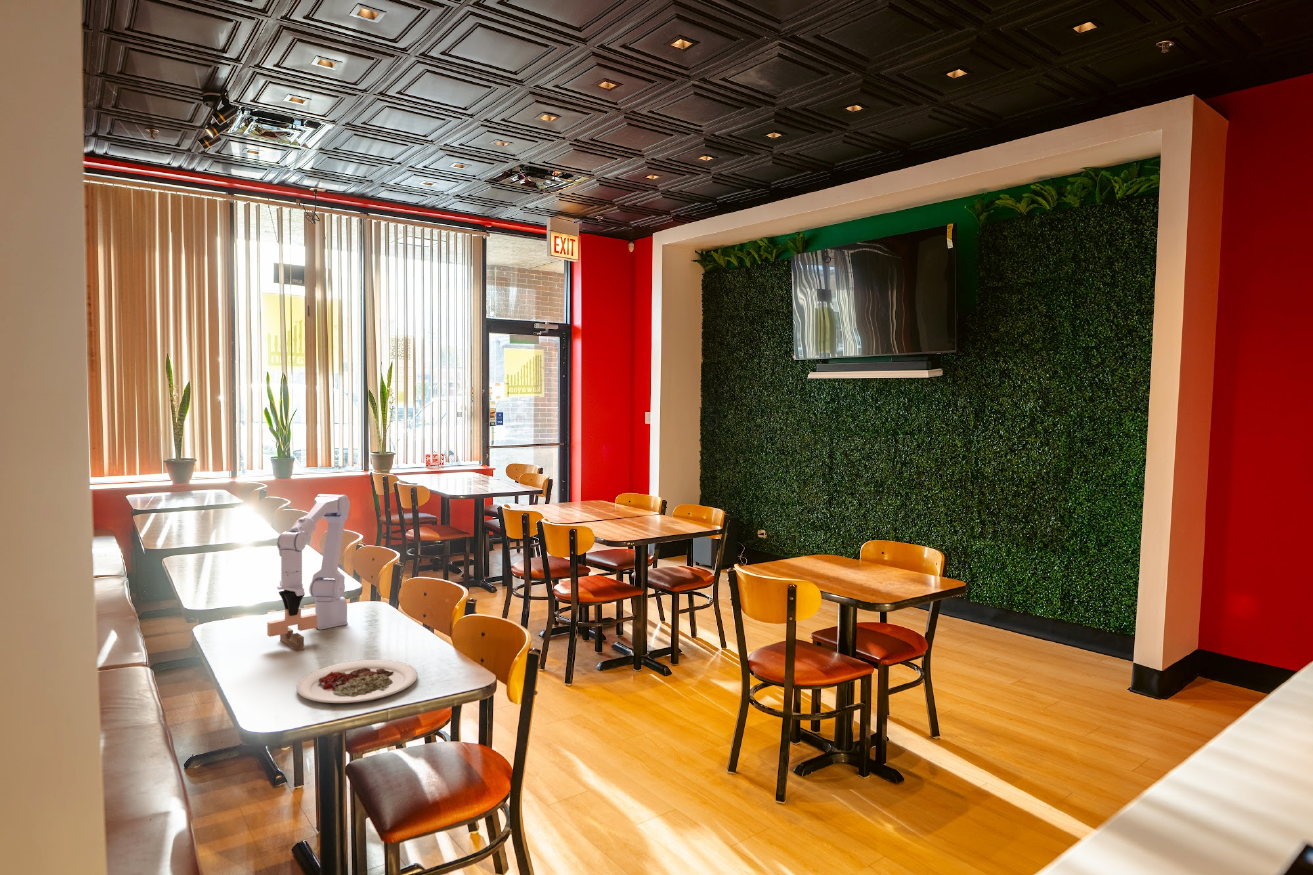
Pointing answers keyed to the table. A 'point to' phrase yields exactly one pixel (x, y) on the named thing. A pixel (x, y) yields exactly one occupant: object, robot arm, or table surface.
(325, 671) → the plated food
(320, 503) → the robot arm
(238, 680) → the table surface
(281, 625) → the salmon stepped block
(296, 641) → the walnut notched bar
